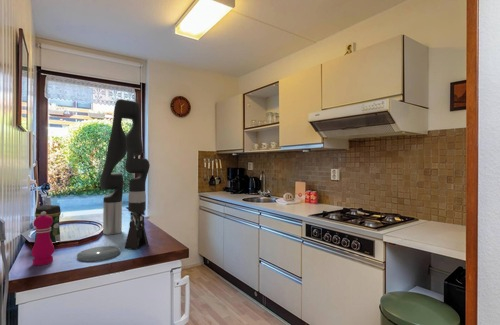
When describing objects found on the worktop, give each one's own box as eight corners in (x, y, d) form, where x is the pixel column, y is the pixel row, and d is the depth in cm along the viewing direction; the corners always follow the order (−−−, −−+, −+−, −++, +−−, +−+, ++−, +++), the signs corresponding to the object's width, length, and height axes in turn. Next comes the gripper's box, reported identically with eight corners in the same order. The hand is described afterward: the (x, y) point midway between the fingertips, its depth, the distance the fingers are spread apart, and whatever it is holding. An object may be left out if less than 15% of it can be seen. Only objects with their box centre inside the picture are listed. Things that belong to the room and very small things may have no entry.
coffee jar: (30, 246, 126) (31, 206, 126) (44, 241, 134) (45, 203, 134) (51, 246, 126) (51, 206, 125) (63, 241, 133) (64, 204, 133)
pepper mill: (39, 259, 110) (40, 209, 110) (58, 259, 110) (59, 209, 110) (26, 266, 102) (26, 213, 102) (46, 265, 103) (47, 213, 103)
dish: (75, 253, 117) (75, 250, 117) (115, 246, 127) (115, 243, 127) (79, 264, 104) (79, 261, 104) (124, 256, 114) (124, 253, 114)
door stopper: (135, 249, 123) (135, 223, 123) (124, 248, 124) (124, 222, 124) (148, 244, 131) (148, 219, 131) (137, 243, 133) (138, 218, 133)
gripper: (124, 199, 131) (124, 234, 131) (132, 203, 120) (132, 241, 120) (140, 198, 136) (140, 231, 136) (150, 202, 124) (149, 238, 124)
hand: (136, 236), depth 128 cm, fingers closed on door stopper, 6 cm apart
